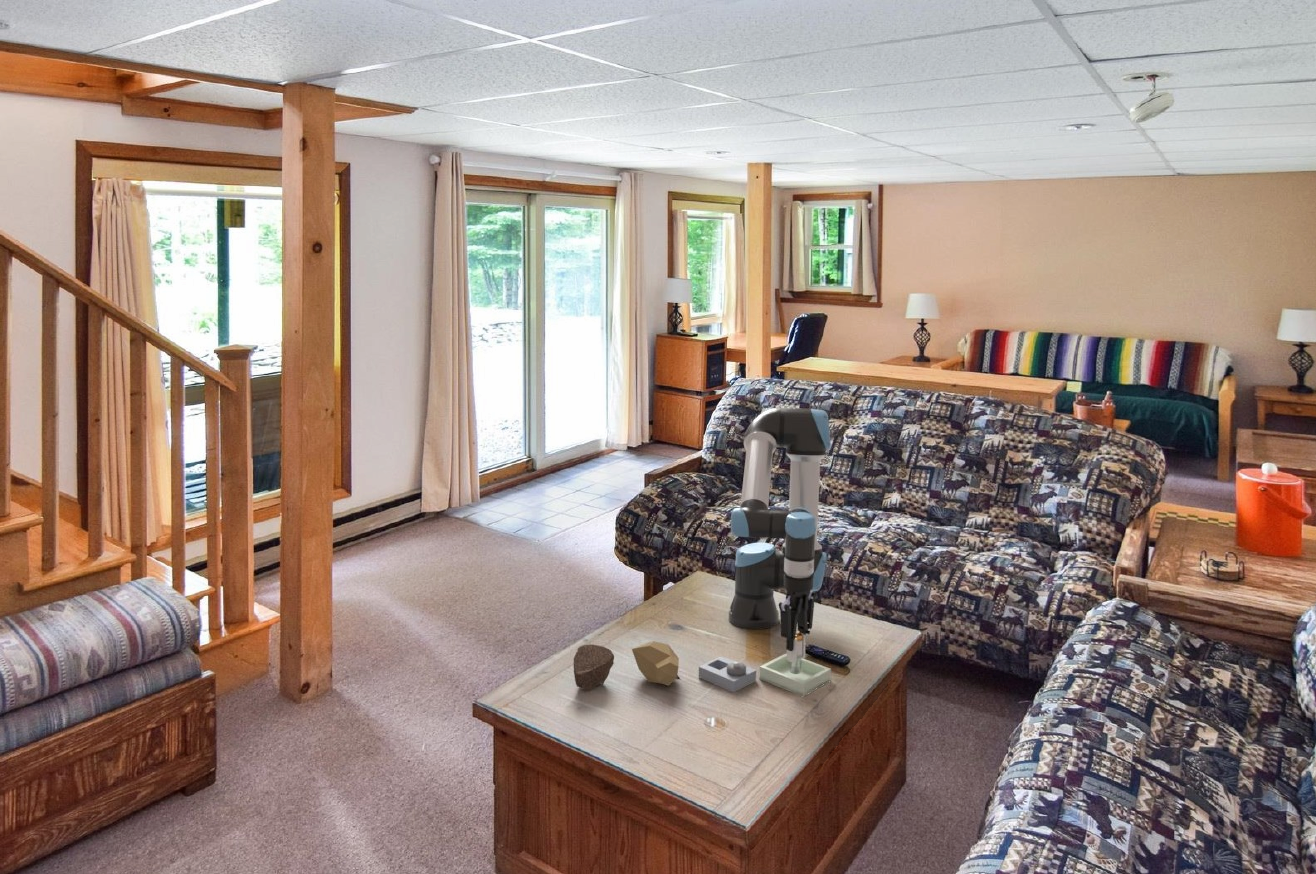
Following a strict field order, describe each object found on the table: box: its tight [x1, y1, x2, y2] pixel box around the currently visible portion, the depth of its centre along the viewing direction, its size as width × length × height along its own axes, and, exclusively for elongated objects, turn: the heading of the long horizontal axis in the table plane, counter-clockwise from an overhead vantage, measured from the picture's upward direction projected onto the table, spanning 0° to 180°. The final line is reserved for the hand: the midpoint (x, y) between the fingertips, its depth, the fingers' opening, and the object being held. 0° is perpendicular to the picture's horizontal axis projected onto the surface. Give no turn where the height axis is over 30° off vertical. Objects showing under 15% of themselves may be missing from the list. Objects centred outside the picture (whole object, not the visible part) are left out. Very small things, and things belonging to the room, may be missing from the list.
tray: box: [759, 652, 832, 697], centre depth 245 cm, size 14×12×4 cm
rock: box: [573, 644, 615, 692], centre depth 241 cm, size 12×10×10 cm
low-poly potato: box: [631, 641, 681, 686], centre depth 243 cm, size 15×11×12 cm
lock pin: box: [790, 633, 803, 674], centre depth 244 cm, size 3×3×10 cm
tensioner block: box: [698, 655, 757, 693], centre depth 245 cm, size 12×9×6 cm
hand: (795, 658), depth 244 cm, fingers closed on lock pin, 3 cm apart
